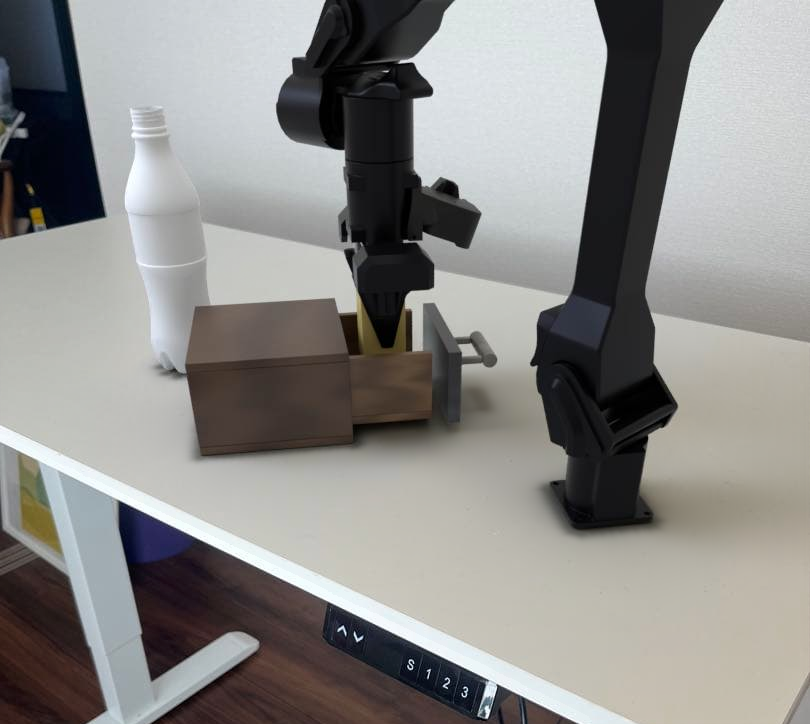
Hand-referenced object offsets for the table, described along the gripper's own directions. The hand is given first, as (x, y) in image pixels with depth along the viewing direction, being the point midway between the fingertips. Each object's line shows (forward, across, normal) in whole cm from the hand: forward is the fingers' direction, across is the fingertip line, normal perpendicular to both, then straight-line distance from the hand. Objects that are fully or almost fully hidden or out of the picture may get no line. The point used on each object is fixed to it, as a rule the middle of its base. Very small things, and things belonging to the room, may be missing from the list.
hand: (384, 339), depth 76 cm
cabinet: (+7, 0, +11) cm, 13 cm away
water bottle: (+7, +14, +20) cm, 25 cm away
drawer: (+6, 0, -2) cm, 6 cm away
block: (+2, 0, 0) cm, 2 cm away
